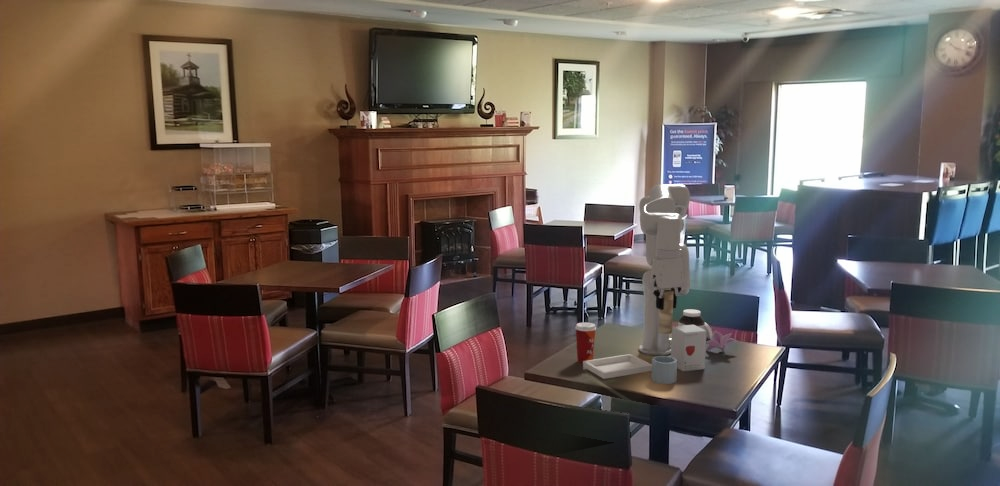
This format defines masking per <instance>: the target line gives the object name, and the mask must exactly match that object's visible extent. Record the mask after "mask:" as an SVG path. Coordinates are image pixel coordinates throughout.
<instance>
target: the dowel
mask: <svg viewBox="0 0 1000 486" xmlns="http://www.w3.org/2000/svg"><path fill="white" fill-rule="evenodd" d="M673 293H674V291H673V290H666V289H665V290H664V292H663V296H662V298H664V309H663V310H660V309H659V333H663V334H670V335H671V334H672V326H673V319H674V318H673V315H674V314H673V313H674V308H673Z"/></svg>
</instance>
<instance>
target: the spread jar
mask: <svg viewBox="0 0 1000 486" xmlns="http://www.w3.org/2000/svg"><path fill="white" fill-rule="evenodd" d="M681 325H696V326H698V327H700V328H702V329H704V330H706V339H707V338H708V339H707V340H709V339H712V335H713V330H712V329H711V326H710V325H709V324H708V323H707V322H705V320H704V318H703V317H702V316H701V311H700V310H699V309H692V308H690V309H688V308H687V309H683V311H682V316H680V318H678V323H677V326H681Z"/></svg>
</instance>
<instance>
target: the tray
mask: <svg viewBox="0 0 1000 486" xmlns="http://www.w3.org/2000/svg"><path fill="white" fill-rule="evenodd" d="M582 370H583V371H584V370H588V371H590V372H591V373H593V374H595V375H596V376H598V377H600V378H602V379H603V380H605V379H612V378H616V377H618V378H619V377H623V376H631V375H636V374H640V373H641V374H642V373H643V374H644V373H648V372H652V363H650V362H648V361H646V360H644V359H642V358H640V357H638V356H636V355H634V354H632V353H628V354H620V355H614V356H608V357H602V358H601V357H600V358H596V359H595V358H593V360H587V361H583V364H582Z"/></svg>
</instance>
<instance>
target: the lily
mask: <svg viewBox="0 0 1000 486" xmlns="http://www.w3.org/2000/svg"><path fill="white" fill-rule="evenodd" d="M712 334H713V335H712V337H711V339H710V340H709V339H708V340H706V345H707V347H706V350H705V352H709V351H711V350H714V349H716V348H717V349H719V351H721V352H722V355H723V358H725V354H724V351H725V350H726V345H728V344H730V343H734V342H737V341H738V340H737V339H735V338H733V337H731V336H732V334H733V332H729V333H727V334H724V335H723V334H722V333H721V332H719V331H717V330H714V331H712Z"/></svg>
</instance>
